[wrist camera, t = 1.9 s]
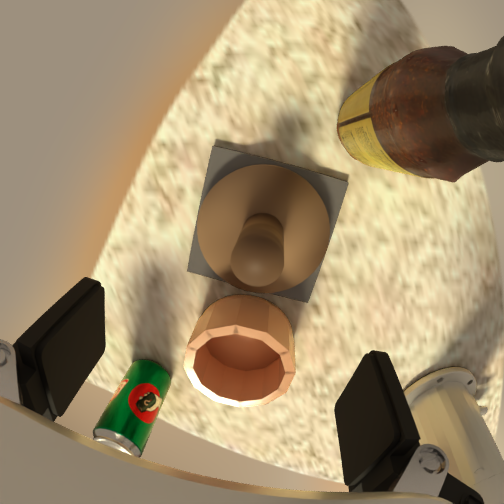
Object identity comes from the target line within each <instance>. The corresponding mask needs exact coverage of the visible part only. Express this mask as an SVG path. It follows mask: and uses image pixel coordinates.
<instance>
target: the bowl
mask: <svg viewBox="0 0 504 504" xmlns="http://www.w3.org/2000/svg"><path fill="white" fill-rule="evenodd" d="M184 369H185V371H186V372H187V374H188V376H189V378H190V380H191V382H192V384H193V386H194V387H195V388H197V389H198V390H199V391H201V392H202V393H204V394H205V395H207V396H208V397H209V398H211V399H212V400H214V401H216V402H220V403H224V404H228V405H232V406H237V407H249V406H257V405H265V404H268V403H269V402H271V401H273V400H274V399H276V398H278V397H279V396H281V395H283V394H284V393H286V392H287V390H288V388H289V386H290V384H291V382H292V379H293V377H294V375H295V373H296V371H295V345H294V339H293V335H292V328H291V325H290V322H289V320H288V318H287V317H286V315H285V314H284V313H283V312H282V311H281V310H280V309H279V308H278V307H277V306H276V305H274V304H273V303H271V302H269V301H267V300H265V299H263V298H260V297H257V296H252V295H232V296H228V297H224V298H222V299H219V300H217V301H216V302H214V303H213V304H211V305H210V306H209V307H208V308H207V309H206V310H205V311H204V313H203V314H202V316H201V317H200V318H199V319H198V321H197V324H196V326H195V328H194V331H193V333H192V335H191V338H190V340H189V342H188V345H187V349H186V355H185V361H184Z"/></svg>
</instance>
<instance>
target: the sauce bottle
mask: <svg viewBox="0 0 504 504" xmlns="http://www.w3.org/2000/svg"><path fill="white" fill-rule="evenodd" d="M337 132H338V136H339V139H340V141H341V143H342V145H343V146H344V147H345V149H346V150H347V152H348V153H349V154H350V155H351V156H352V157H353V158H354V159H356V160H358V161H360V162H362V163H363V164H366V165H368V166H371V167H376V168H381V169H386V170H390V171H394V172H399V173H404V174H409V175H414V176H418V177H423V178H437V179H440V180H446V181H450V182H456V181H457V180H458V179H459V178H460V177H461V176H463V175H464V174H466V173H468V172H470V171H471V170H473V169H475V168H477V167H479V166H480V165H482V164H484V163H486V162H488V161H493V162H502V161H504V36H503V37H502V38H501V39H500V41H499V42H498V44H497V46H495V47H492V48H490V49H488V50H485V51H482V52H479V53H472V54H467V53H465V52H463V51H460V50H459V49H457V48H455V47H452V46H439V47H432V48H424V49H420V50H416V51H414V52H411V53H410V54H408V55H406V56H405V57H403V58H402V59H400V60H399V61H398V62H395V63H393V64H391V65H389V66H388V67H387V68H385V69H384V70H383V71H381V72H380V73H379V74H377V75H376V76H375V77H373V78H372V79H371V80H370V81H368V82H367V83H366V84H364V85H363V86H362V87H361V88H359V89H358V90H357V91H355V92H354V93H353V94H352V95H351V96H349V97H348V99H347V100H346V101H345V102H344V103H343V106H342V108H341V110H340V113H339V117H338V123H337Z"/></svg>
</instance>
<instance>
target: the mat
mask: <svg viewBox="0 0 504 504" xmlns="http://www.w3.org/2000/svg"><path fill="white" fill-rule="evenodd" d="M259 164H268V165H275V166H280V167H283V168H286V169H289V170H291V171H293V172H295V173H297V174H298V175H300V176H301V177H303V178H304V179H305V180H306V181H308V182H309V183H310V184H311V185H312V187H313V188H314V189H315V190H316V191H317V193H318V194H319V196H320V198H321V199H322V201H323V203H324V205H325V207H326V210H327V214H328V217H329V224H330V237H329V242H330V239H331V236H332V233H333V230H334V227H335V224H336V221H337V218H338V215H339V212H340V209H341V206H342V202H343V199H344V196H345V193H346V190H347V186H348V182H346V181H343V180H340V179H337V178H334V177H330V176H327V175H324V174H321V173H317V172H314V171H310V170H307V169H303V168H300V167H296V166H293V165H289V164H286V163H282V162H278V161H274V160H271V159H267V158H263V157H259V156H255V155H251V154H247V153H243V152H238V151H234V150H230V149H226V148H221V147H217V146H212V151H211V155H210V159H209V164H208V168H207V173H206V177H205V182H204V187H203V191H202V196H201V201H200V206H199V211H200V208H201V205H202V203H203V201H204V199H205V197H206V196H207V194H208V193H209V191H210V190H211V189H212V188H213V186H214V185H215V184H217V183H218V182H219V181H220V180H221V179H222V178H224V177H225V176H227V175H228V174H230V173H232V172H234V171H235V170H237V169H240V168H243V167H246V166H251V165H259ZM199 211H198V215H199ZM197 221H198V216H197ZM197 221H196V226H195V231H194V236H193V242H192V247H191V252H190V258H189V263H188V269H187V271H188V272H192V273H195V274H199V275H202V276H206V277H210V278H213V279H217V280H221V281H225V280H223V279H222V278H221V277H220V276H218V275H217V274H216V273H215V272H214V271H213V270H212V268H211V267H210V266H209V264H208V263H207V261H206V259H205V258H204V256H203V254H202V251H201V249H200V245H199V242H198V235H197ZM328 245H329V243H328ZM327 248H328V247H327ZM325 254H326V253H325ZM324 257H325V255H324ZM323 260H324V258H323ZM323 260H322V261H321V263H320V265H319V266H318V267H317V269H316V270H315V271H314V272H313V273H312V274H311V275H310V276H309V277H308V278H307V279H305V280H304V281H303V282H301V283H299V284H298V285H296V286H294V287H292V288H289V289H287V290H283V291H280V292H274V293H270V294H274V295H278V296H282V297H286V298H290V299H294V300H298V301H302V302H306V303H308V301H309V298H310V296H311V293H312V290H313V287H314V285H315V282H316V279H317V276H318V274H319V271H320V268H321V265H322V262H323ZM225 282H226V281H225Z"/></svg>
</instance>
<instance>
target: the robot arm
mask: <svg viewBox="0 0 504 504" xmlns="http://www.w3.org/2000/svg"><path fill="white" fill-rule="evenodd" d="M105 346H106V342H105V291H104V288H103V287H101V283H100V282H99V281H96V280H94V279H91V278H88V277H84V278H83V279H82V280H81V281H79V282H78V283H77V284H76V285H75V286H74V287H73V288H71V289H70V290H69V291H68V292H67V293H66V294H65V295H64V296H63V297H62V298H60V299H59V300H58V301H57V302H56V303H55V304H54V305H53V306H52V307H50V309H48V311H46V312H45V313H44V314H43V315H42V316H41V317H40V318H39V319H38V320H37V321H36V322H35V323H34V324H33V325H32V326H31V327H29V328H28V329H27V330H26V331H25V333H23V334H22V335H21V336H20V337H19V338H18V339H17V341H16V342H15V343H14V344H13V345H11V344H10V343H9V342H7V341H4V340H1V339H0V504H504V460H503V458H502V456H501V454H500V452H499V449H498V447H497V445H496V443H495V441H494V439H493V437H492V435H491V433H490V431H489V429H488V427H487V425H486V423H485V421H484V419H483V417H482V415H485V414H486V413H487V410H488V409H487V406H478V404H477V402H476V400H475V399H474V396H475V393H476V389H477V383H476V380H475V378H474V376H473V374H472V373H471V372H470V371H469V370H467V369H465V368H461V367H450V368H445V369H441V370H438V371H436V372H433V373H431V374H429V375H427V376H425V377H423V378H421V379H420V380H418V381H417V382H415V383H414V384H412V385H411V386H410V387H409V388H407V389H406V390H405V391H404V392H403V389H402V387H401V384H400V382H399V379H398V377H397V374H396V372H395V370H394V367H393V365H392V362H391V360H390V358H389V355H388V354H387V353H386V352H380V351H374V350H372V351H371V352H370V353H369V354H368V353H367V354H365V355H364V357H363V358H362V360H361V362H360V364H359V366H358V367H357V369H356V371H355V372H354V374H353V376H352V378H351V379H350V381H349V383H348V384H347V386H346V388H345V389H344V391H343V392H342V394H341V396H340V397H339V399H338V400H337V402H336V404H335V409H334V411H335V418H336V425H337V432H338V438H339V446H340V453H341V460H342V468H343V476H344V483H345V485H347V486H349V492H319V491H302V490H290V489H280V488H271V487H263V486H256V485H249V484H243V483H237V482H231V481H226V480H221V479H216V478H211V477H207V476H202V475H198V474H194V473H190V472H186V471H182V470H178V469H175V468H171V467H167V466H164V465H161V464H158V463H154V462H151V461H148V460H145V459H142V458H139V457H136V456H133V455H130V454H128V453H125V452H122V451H119V450H117V449H114V448H112V447H109V446H107V445H104V444H102V443H99V442H97V441H95V440H92V439H90V438H88V437H85V436H83V435H81V434H79V433H76V432H74V431H72V430H70V429H68V428H66V427H63V426H61V425H59V424H57V423H55V422H54V421H55V419H56V417H57V416H59V417H61V416H62V415H63V414H64V412H65V411H66V409H67V408H68V406H69V404H70V403H71V401H72V400H73V398H74V397H75V395H76V394H77V392H78V391H79V389H80V388H81V386H82V384H83V383H84V382H85V380H86V379H87V377H88V376H89V374H90V373H91V371H92V370H93V368H94V367H95V365H96V364H97V362H98V361H99V359H100V358H101V356H102V355H103V353H104V351H105Z"/></svg>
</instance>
